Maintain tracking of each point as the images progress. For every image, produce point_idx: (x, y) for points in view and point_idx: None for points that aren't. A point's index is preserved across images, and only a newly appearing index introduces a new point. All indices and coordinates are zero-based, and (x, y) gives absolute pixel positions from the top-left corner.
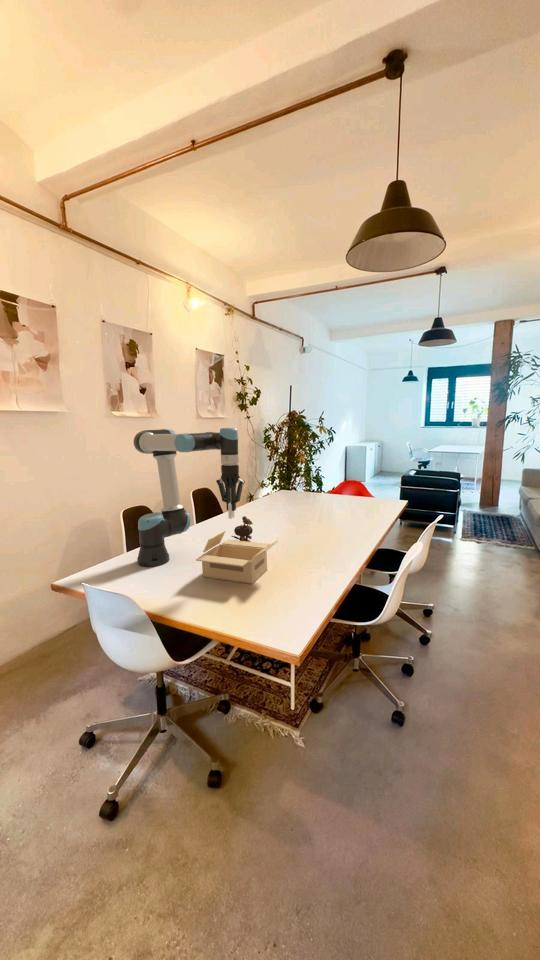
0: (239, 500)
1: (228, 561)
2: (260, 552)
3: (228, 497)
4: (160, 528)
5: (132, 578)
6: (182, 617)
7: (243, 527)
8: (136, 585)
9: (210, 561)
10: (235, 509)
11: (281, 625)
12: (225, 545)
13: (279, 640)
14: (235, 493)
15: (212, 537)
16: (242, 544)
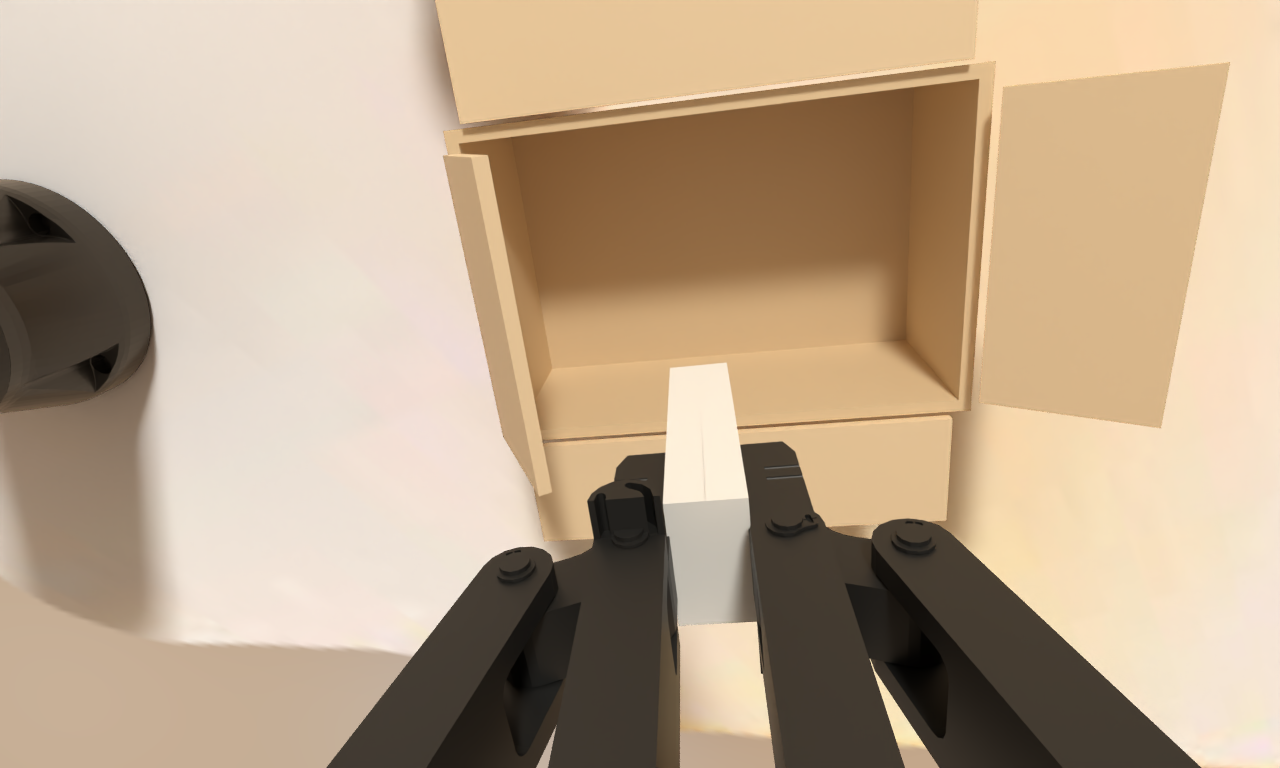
0: (953, 558)
1: None
2: (1062, 361)
3: (676, 729)
4: None
5: (212, 534)
6: (753, 722)
7: None
8: (313, 585)
9: None
10: (791, 459)
11: (1216, 649)
12: (517, 135)
13: (1229, 730)
14: (885, 736)
15: (536, 442)
16: (685, 62)
